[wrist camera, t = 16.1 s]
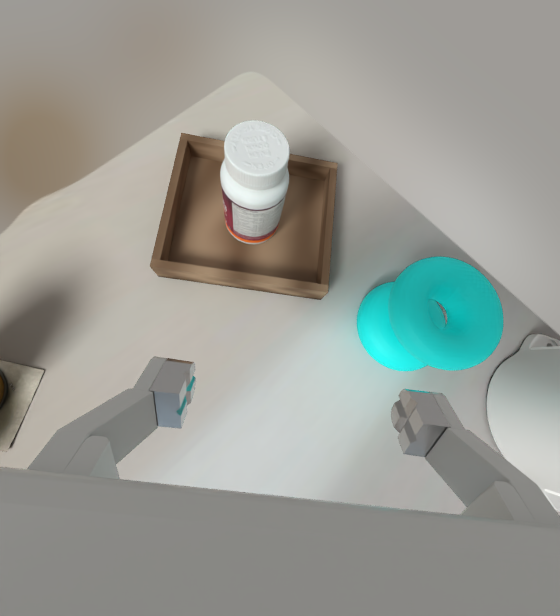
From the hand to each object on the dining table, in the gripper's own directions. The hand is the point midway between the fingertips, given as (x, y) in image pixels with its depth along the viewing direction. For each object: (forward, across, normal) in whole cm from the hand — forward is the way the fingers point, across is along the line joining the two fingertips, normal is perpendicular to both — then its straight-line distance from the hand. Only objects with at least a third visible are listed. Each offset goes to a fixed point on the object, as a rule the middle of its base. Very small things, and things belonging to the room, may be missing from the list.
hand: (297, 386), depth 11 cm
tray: (+26, +5, +1) cm, 26 cm away
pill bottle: (+25, +5, +1) cm, 26 cm away
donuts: (+19, -13, +9) cm, 25 cm away
